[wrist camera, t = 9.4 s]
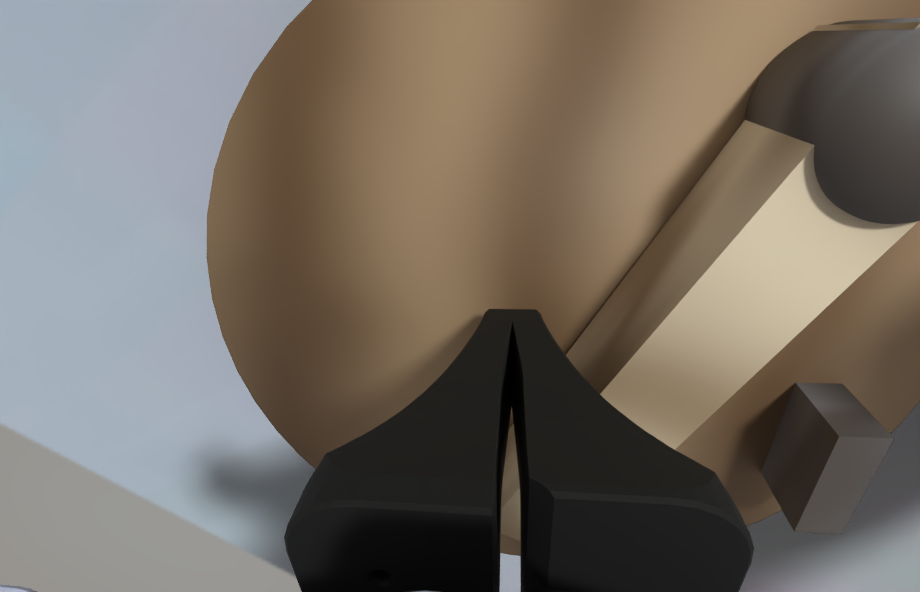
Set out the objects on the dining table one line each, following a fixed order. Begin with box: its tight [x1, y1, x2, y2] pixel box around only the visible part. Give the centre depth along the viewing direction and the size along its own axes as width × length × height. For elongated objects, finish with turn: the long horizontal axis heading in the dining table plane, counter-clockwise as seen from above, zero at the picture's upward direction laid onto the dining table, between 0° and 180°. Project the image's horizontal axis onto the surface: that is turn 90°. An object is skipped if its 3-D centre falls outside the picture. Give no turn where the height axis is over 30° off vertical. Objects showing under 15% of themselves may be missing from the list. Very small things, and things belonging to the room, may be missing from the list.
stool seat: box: [207, 0, 920, 556], centre depth 13 cm, size 20×20×4 cm
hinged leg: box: [501, 18, 920, 541], centre depth 11 cm, size 14×3×3 cm, turn 154°
